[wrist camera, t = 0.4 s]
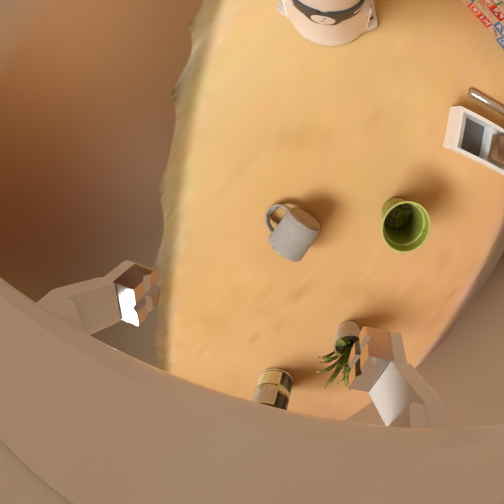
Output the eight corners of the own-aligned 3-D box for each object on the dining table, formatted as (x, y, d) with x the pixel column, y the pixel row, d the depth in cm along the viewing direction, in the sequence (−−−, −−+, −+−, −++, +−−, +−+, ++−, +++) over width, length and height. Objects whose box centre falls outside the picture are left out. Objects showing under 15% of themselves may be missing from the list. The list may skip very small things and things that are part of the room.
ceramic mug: (324, 220, 55) (322, 234, 48) (302, 251, 59) (298, 268, 52) (278, 192, 55) (270, 202, 48) (259, 224, 59) (249, 238, 52)
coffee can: (299, 375, 76) (291, 414, 64) (285, 392, 81) (276, 428, 69) (266, 362, 77) (254, 401, 64) (255, 380, 82) (242, 416, 69)
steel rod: (467, 96, 35) (471, 94, 34) (467, 89, 35) (471, 87, 33) (515, 124, 33) (520, 123, 31) (515, 117, 33) (519, 116, 31)
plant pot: (425, 207, 48) (440, 222, 40) (398, 243, 53) (408, 262, 45) (392, 179, 48) (403, 190, 40) (364, 217, 52) (370, 233, 45)
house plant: (305, 318, 66) (295, 368, 52) (355, 293, 60) (358, 343, 46) (334, 353, 69) (330, 403, 55) (381, 332, 63) (387, 383, 49)
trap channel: (450, 106, 38) (461, 105, 33) (529, 151, 34) (541, 155, 30) (443, 147, 42) (453, 149, 37) (521, 186, 38) (533, 192, 34)
